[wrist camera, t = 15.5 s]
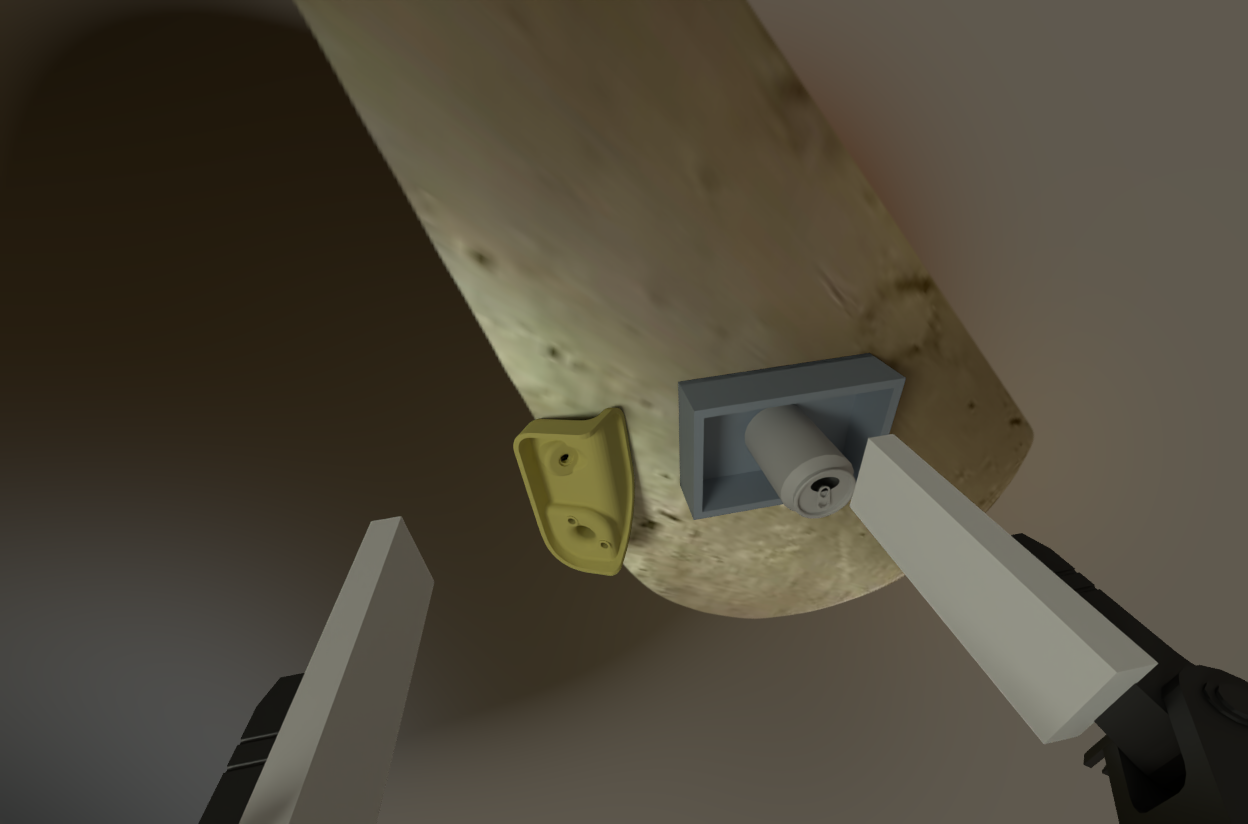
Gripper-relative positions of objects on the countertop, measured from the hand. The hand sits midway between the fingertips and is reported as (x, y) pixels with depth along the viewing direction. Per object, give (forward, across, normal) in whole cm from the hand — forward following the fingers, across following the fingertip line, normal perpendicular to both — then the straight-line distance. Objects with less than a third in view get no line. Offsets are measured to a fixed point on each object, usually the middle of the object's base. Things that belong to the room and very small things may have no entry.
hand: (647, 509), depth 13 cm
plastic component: (+32, -3, -25) cm, 41 cm away
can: (+31, +20, -22) cm, 43 cm away
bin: (+32, +20, -22) cm, 43 cm away
